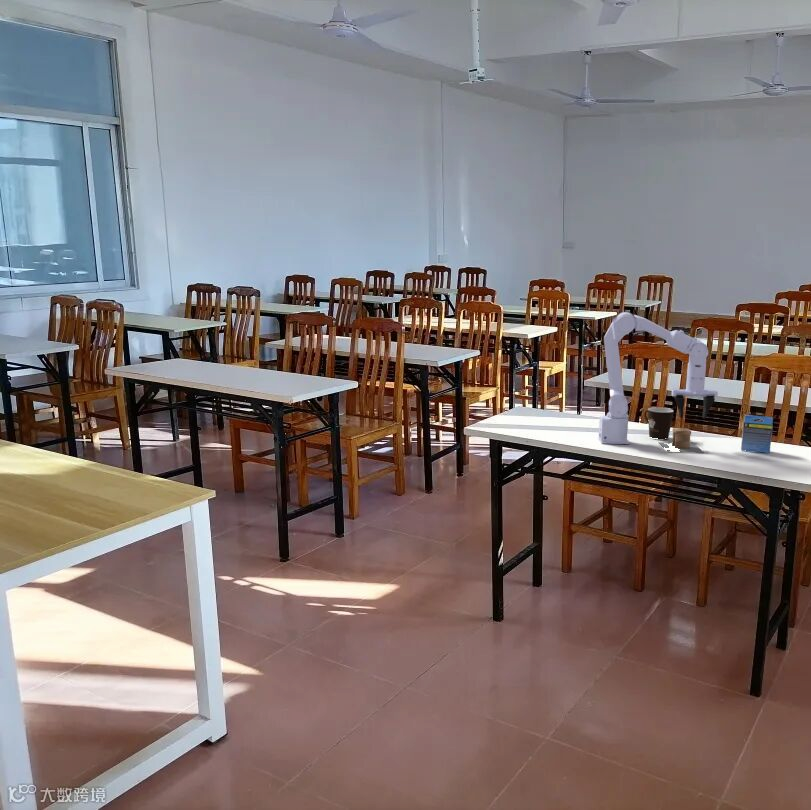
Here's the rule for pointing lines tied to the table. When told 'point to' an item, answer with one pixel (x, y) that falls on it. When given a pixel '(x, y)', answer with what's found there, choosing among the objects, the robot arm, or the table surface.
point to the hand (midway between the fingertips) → (692, 417)
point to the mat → (691, 449)
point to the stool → (681, 438)
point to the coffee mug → (659, 422)
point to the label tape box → (757, 434)
